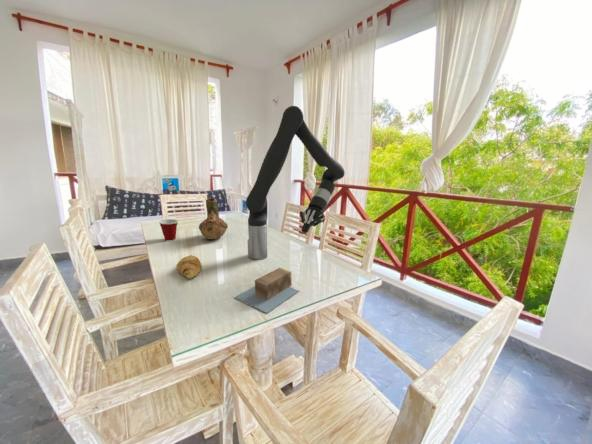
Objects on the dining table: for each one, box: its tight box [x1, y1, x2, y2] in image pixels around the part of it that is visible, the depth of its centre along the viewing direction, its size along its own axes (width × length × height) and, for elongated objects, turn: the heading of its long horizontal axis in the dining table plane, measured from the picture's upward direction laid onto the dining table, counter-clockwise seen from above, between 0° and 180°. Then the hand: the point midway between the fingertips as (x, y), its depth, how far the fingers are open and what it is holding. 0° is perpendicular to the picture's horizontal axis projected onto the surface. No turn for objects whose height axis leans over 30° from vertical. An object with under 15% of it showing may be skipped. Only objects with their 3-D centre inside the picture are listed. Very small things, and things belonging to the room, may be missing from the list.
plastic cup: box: [158, 218, 179, 241], centre depth 156 cm, size 11×11×12 cm
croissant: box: [175, 254, 202, 280], centre depth 114 cm, size 21×10×8 cm, turn 26°
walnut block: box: [254, 267, 292, 300], centre depth 97 cm, size 6×6×14 cm
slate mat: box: [234, 285, 300, 314], centre depth 95 cm, size 18×16×1 cm
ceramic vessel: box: [198, 197, 228, 240], centre depth 157 cm, size 17×26×25 cm, turn 16°
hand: (303, 232), depth 109 cm, fingers closed
